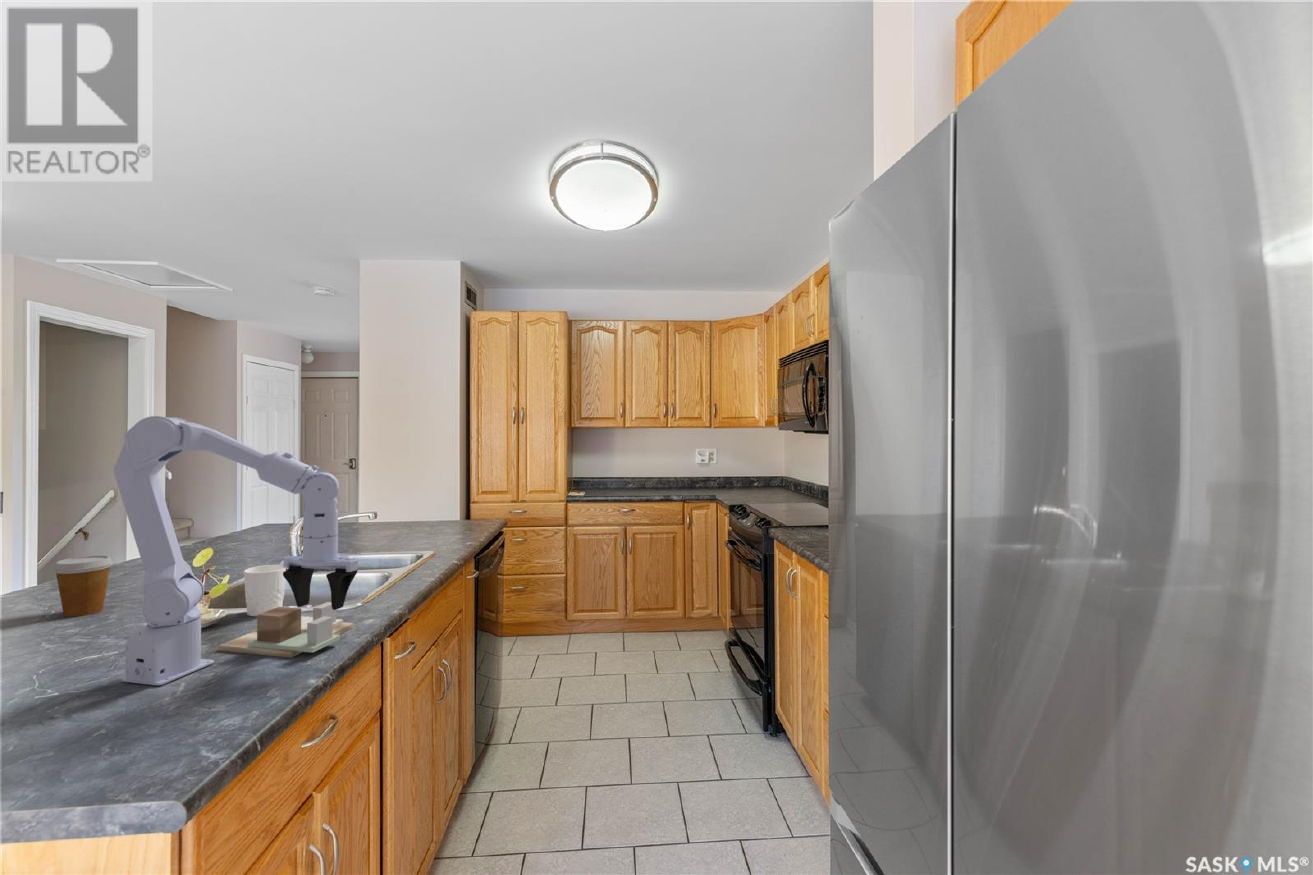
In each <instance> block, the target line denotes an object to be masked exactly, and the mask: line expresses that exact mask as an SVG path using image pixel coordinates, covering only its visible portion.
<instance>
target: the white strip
mask: <svg viewBox="0 0 1313 875" xmlns="http://www.w3.org/2000/svg"><path fill="white" fill-rule="evenodd" d="M323 616H326V617H333V628H334V627H336V626H339V625H341V624H343V623H344V619H341V618H339V619H338V618H337V610H332V605H331V601H327V602H324V603H322V604H319V605H316V606H314V607H313V608H312V616H303V615H301V632H307V623H309V622H311V621H314V620H316V619H318V618H321V617H323Z"/></svg>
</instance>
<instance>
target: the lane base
mask: <svg viewBox="0 0 1313 875" xmlns="http://www.w3.org/2000/svg"><path fill="white" fill-rule="evenodd" d="M352 629H354V623H351V622H343V624H341V625H339V626H336V627H334V628H333V635H340V636H341V635H342V634H344V633H346V632H349V631H350V630H352ZM255 639H257V629H256V630H253V631H251V632H248V633H247V634H244V635H242V636H239V637H236V638H234V639H232V640H228V641H226V642H223V643H221V644H219V645H218V652H230V653H239V654H240V653H241V654H250V655H251V654H252V655H261V656H269V657H271V656H272V657H280V658H281V657H283V658H294V657H296V656H297V655H301V654H302V653H303V652H301V651H291V650H280V649H270V648H259V647H249V646H248V642H250V641H253V640H255Z"/></svg>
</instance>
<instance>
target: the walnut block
mask: <svg viewBox="0 0 1313 875" xmlns="http://www.w3.org/2000/svg"><path fill="white" fill-rule="evenodd" d="M301 616H302V608H301V607H290V606H289V607H288V606H283V607H277V608H274V609H272V610H269V611H266V612H263V613H261V614H258V615H257V616H256V621H257V622H256V625H257V626H256V630H257V641H263V642H274V643H281V642H283V641H285V640H288V639H290V638H292V637H295V636H297V635H299V634H301Z"/></svg>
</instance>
